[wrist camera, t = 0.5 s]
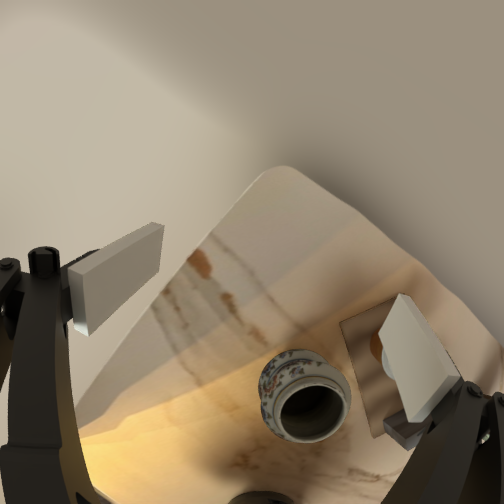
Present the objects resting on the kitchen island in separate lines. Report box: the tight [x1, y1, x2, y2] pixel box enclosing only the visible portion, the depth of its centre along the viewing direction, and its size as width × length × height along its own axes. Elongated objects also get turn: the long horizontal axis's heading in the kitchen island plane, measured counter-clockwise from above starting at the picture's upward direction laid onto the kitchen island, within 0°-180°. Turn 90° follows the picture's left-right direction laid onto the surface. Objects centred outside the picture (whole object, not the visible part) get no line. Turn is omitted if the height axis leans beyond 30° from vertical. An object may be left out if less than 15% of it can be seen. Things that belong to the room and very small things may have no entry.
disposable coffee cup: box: [370, 327, 395, 380], centre depth 39 cm, size 10×10×12 cm
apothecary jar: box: [258, 349, 351, 443], centre depth 35 cm, size 12×12×18 cm
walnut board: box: [339, 294, 432, 451], centre depth 38 cm, size 26×14×11 cm, turn 19°
